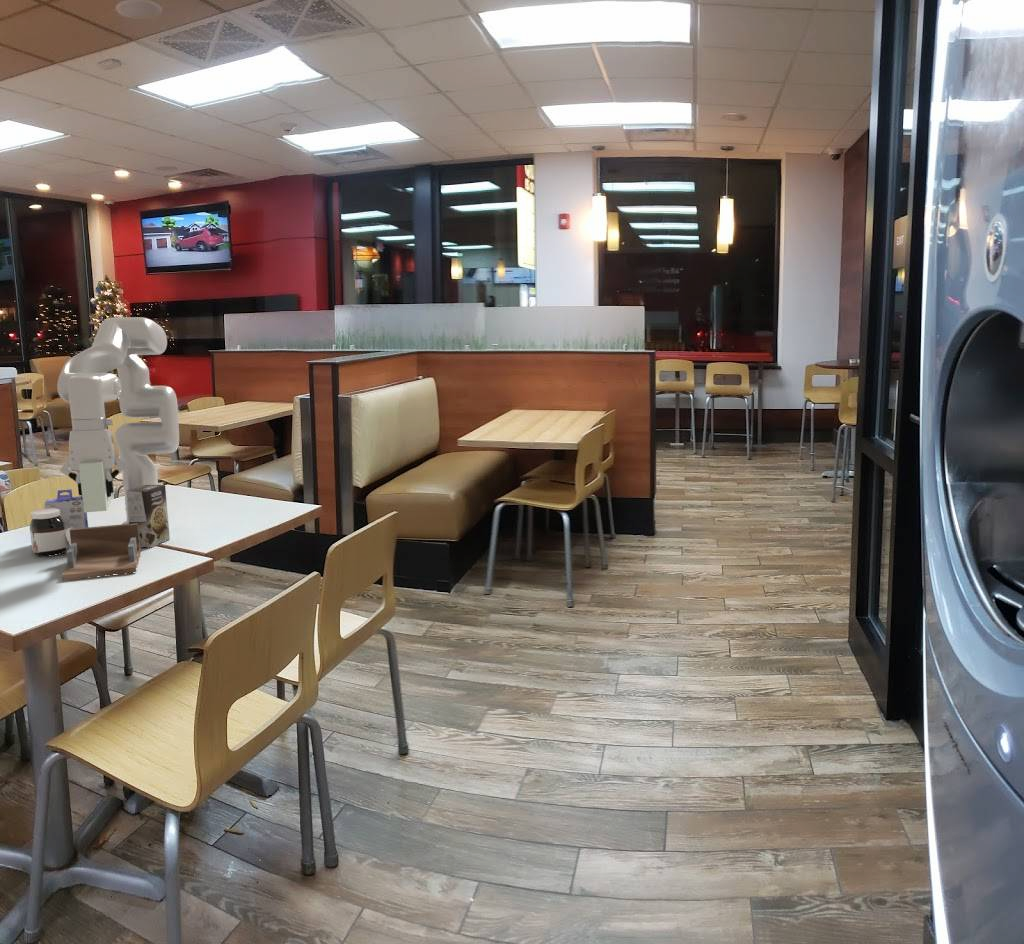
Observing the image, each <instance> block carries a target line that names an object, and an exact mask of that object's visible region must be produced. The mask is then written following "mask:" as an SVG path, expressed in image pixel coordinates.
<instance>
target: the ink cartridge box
mask: <svg viewBox="0 0 1024 944" xmlns="http://www.w3.org/2000/svg"><path fill="white" fill-rule="evenodd" d="M72 491H73V489H62V490H61V489H60V490H57V496H56V497H57V498H49V499H47V500H46V501H45V502H44V509H47V508H57V509H60V517H61V518H62V520H63V522H64V525H65V530H66V529H68V528H71V527H73V528H74V529H75V528H87V527H89V522H88V514H87V513H88V512H84V508H83V499H82V495H79V496H73V492H72ZM63 493H67V494H63ZM66 539H67V537H66ZM67 543H69V542H68V540H67Z"/></svg>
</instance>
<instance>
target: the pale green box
mask: <svg viewBox="0 0 1024 944" xmlns="http://www.w3.org/2000/svg"><path fill="white" fill-rule="evenodd" d="M79 470H80V480H81V489H82V495H81V496H82V498H83V508H84V512H87V513H94V512H106V511H108V509H109V507H110V505H111V503H112V500H111V496H110V497H107V491H106V479H107V478H106V475H105V471H104V465H103V461H100V462H83V463H80V464H79Z"/></svg>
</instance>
